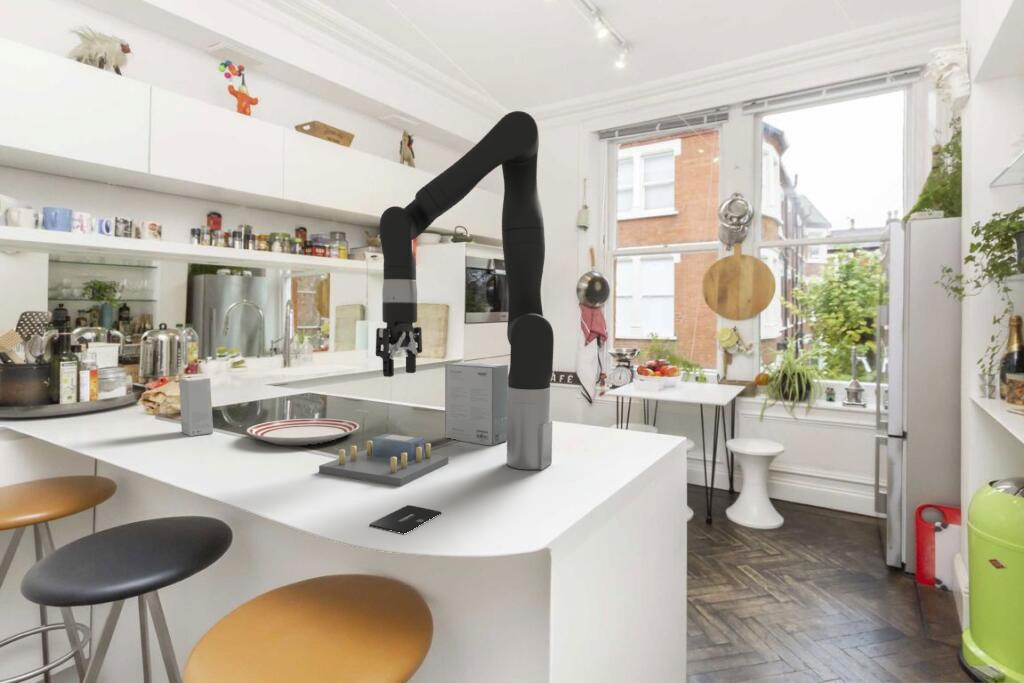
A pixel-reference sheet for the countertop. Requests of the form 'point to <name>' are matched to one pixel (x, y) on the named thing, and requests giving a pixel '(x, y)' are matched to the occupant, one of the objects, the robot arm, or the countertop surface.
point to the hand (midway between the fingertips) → (400, 374)
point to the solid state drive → (405, 519)
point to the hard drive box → (476, 402)
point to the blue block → (397, 446)
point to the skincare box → (196, 406)
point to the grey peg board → (383, 466)
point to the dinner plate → (302, 431)
